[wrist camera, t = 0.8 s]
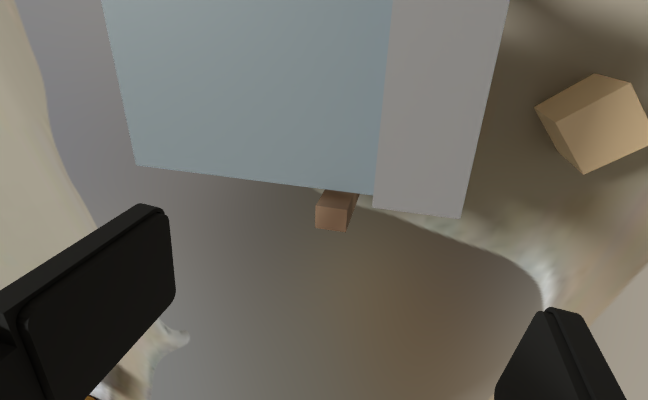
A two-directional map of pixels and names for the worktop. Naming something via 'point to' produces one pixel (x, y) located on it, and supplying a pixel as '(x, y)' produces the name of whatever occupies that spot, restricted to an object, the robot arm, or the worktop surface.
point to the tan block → (595, 122)
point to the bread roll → (89, 398)
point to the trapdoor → (311, 91)
